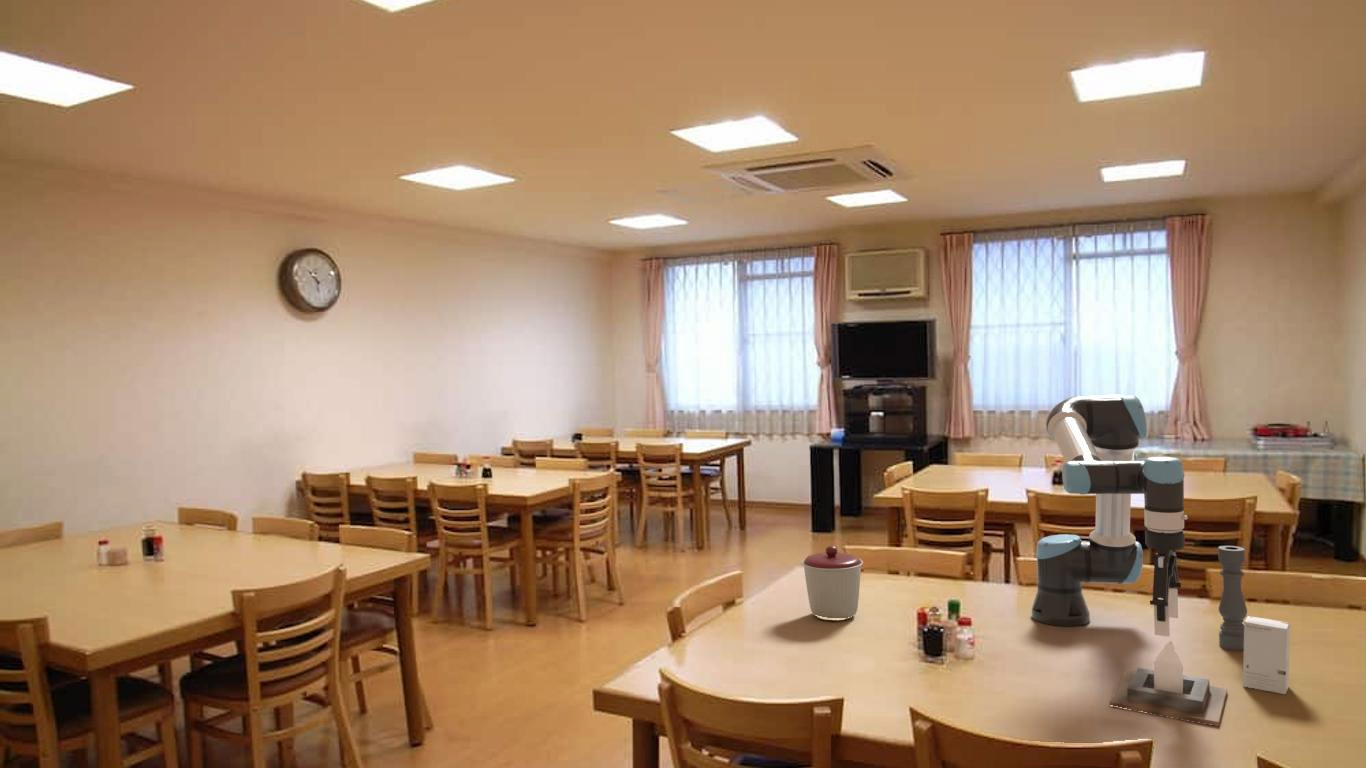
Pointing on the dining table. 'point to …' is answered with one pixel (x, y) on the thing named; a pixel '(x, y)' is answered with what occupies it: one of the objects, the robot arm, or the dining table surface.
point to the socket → (1171, 698)
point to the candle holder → (1232, 598)
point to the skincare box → (1266, 654)
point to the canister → (833, 583)
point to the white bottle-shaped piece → (1168, 670)
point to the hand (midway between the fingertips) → (1166, 626)
